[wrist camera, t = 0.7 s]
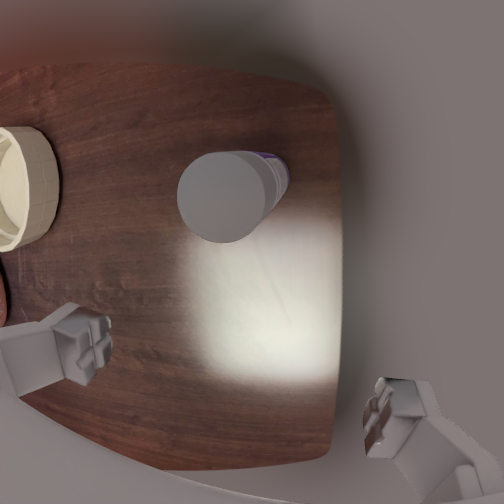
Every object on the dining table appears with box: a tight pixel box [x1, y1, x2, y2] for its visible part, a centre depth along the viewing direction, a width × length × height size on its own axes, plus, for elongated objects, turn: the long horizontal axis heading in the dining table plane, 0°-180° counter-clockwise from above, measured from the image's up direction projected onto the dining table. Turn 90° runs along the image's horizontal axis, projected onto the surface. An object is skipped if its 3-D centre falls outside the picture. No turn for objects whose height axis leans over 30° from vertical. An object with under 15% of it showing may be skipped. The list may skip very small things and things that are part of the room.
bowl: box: [0, 127, 59, 252], centre depth 32 cm, size 16×16×6 cm
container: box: [177, 151, 290, 243], centre depth 22 cm, size 5×5×15 cm
